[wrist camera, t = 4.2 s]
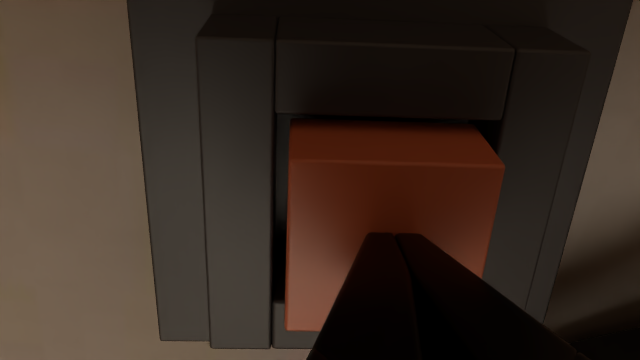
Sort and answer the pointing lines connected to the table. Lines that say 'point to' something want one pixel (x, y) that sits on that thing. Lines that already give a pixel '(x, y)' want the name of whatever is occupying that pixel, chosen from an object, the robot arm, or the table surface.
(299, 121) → the key
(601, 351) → the toy
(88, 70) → the table surface
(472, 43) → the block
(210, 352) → the table surface
